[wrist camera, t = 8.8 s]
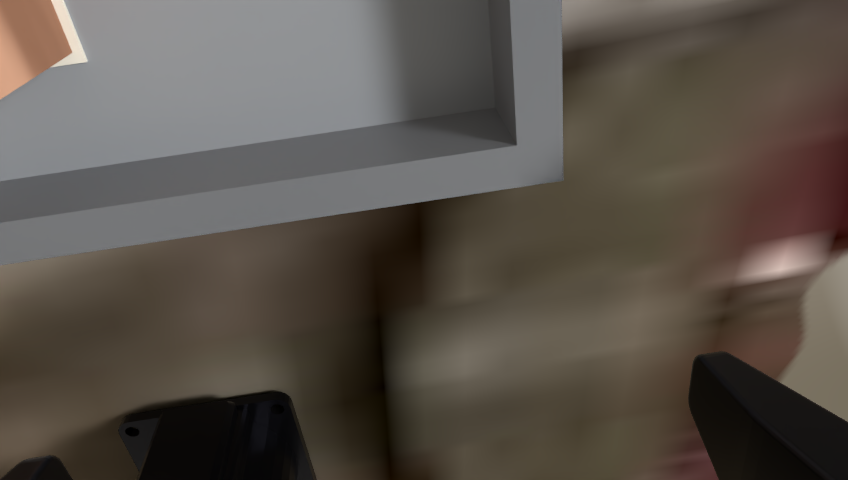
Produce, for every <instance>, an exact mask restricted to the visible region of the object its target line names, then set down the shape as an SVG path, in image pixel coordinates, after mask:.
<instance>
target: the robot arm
mask: <svg viewBox="0 0 848 480" xmlns="http://www.w3.org/2000/svg"><path fill="white" fill-rule="evenodd" d="M688 400H689V407H690V411H691V414H692V416H693V419H694V421H695V424H696V426H697V428H698V431H699V433H700V436H701V438H702V440H703V443H704V445H705V447H706V450H707V452H708V455H709V457H710V459H711V462H712V464H713V467H714V469H715V471H716V474H717V476H718V479H719V480H848V422H847V421H845V420H844V419H842V418H840V417H838V416H837V415H835V414H833V413H832V412H830V411H828V410H826V409H825V408H822V407H821V406H819V405H818V404H816V403H814V402H812V401H810V400H809V399H807V398H806V397H804V396H802V395H800V394H799V393H797V392H795V391H794V390H792V389H790V388H788V387H787V386H785V385H783V384H781V383H780V382H778V381H776V380H775V379H773V378H771V377H769V376H768V375H766V374H764V373H763V372H761V371H759V370H757V369H756V368H754V367H752V366H750V365H749V364H747V363H745V362H744V361H742V360H740V359H738V358H737V357H735V356H733V355H731V354H729V353H727V352H722V351H720V352H713V353H707V354H700V355H698V356H696V357H695V359H694V360H693V364H692V372H691V380H690V388H689V397H688ZM276 404H277V405H281V406H280V407H278V406H275V405H276ZM132 427H135V428H132ZM136 428H137V429H136ZM118 431H119V434H120V436H121V438H122V440H123V442H124V444H125V446H126V448H127V450H128V451H129V453H130V455H131V457H132V459H133V461H134V463H135V465H136V467H137V468H138V470H139V475H138V477H137V480H317V479H316V476H315V472H314V469H313V466H312V463H311V460H310V457H309V453H308V450H307V447H306V444H305V441H304V438H303V435H302V431H301V428H300V425H299V422H298V419H297V416H296V412H295V409H294V406H293V403H292V400H291V398H290V397H289V396H288V395H287V394H285V393H282V392H274V393H267V394H261V395H254V396H248V397H241V398H235V399H228V400H222V401H215V402H209V403H202V404H196V405H189V406H183V407H176V408H170V409H163V410H157V411H151V412H144V413H138V414H131V415H128V416H126V417H124V418H123V420H122V422H121V425H120V427H119V430H118ZM0 480H73V479H72V478H71V476H70V474H69V473H68V471H67V470H66V468H65V466H64V465H63V463H62V462H61V460H60V459H59V458H57V457H56V456H51V455H49V456H42V457H36V458H29V459H26V460H23V461H21V462H20V463H19V464H17V465H16V466H15V467H14V468H13V469H11V470H10V471H9V472H8V473H7V474H6V475H4V476H3V477H2V478H1V479H0Z"/></svg>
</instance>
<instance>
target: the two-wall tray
mask: <svg viewBox="0 0 848 480" xmlns="http://www.w3.org/2000/svg"><path fill="white" fill-rule="evenodd" d="M51 1H52V4H53V6H54V9H55V11H56V13H57V16H58V18H59V21H60V23H61V26H62V28H63V31H64V33H65V35H66V38H67V40H68V43H69V45H70V48H71V50H72V53H71V54H70V55H68V56H67V57H65V58H64V59H62V60H61V61H59V62H57V63H56V64H54V65H53V66H51V67H50V68H48V69H47V70H45V71H44V72H42V73H40V74H39V75H37V76H36V77H34V78H33V79H31V80H30V81H28V82H27V83H25V84H24V85H22V86H20V87H19V88H17V89H16V90H14V91H13V92H11V93H10V94H8V95H7V96H5V97H3V98H2V99H0V265H6V264H12V263H19V262H25V261H32V260H39V259H45V258H52V257H59V256H65V255H72V254H79V253H85V252H92V251H98V250H105V249H112V248H118V247H125V246H132V245H138V244H145V243H152V242H158V241H165V240H172V239H178V238H185V237H191V236H198V235H205V234H211V233H218V232H225V231H231V230H238V229H245V228H251V227H258V226H264V225H271V224H278V223H284V222H291V221H298V220H304V219H311V218H318V217H324V216H331V215H337V214H344V213H351V212H357V211H364V210H371V209H377V208H384V207H391V206H397V205H404V204H411V203H417V202H424V201H430V200H437V199H444V198H450V197H457V196H464V195H470V194H477V193H484V192H490V191H497V190H503V189H510V188H517V187H523V186H530V185H537V184H543V183H550V182H557V181H563V94H562V0H51Z"/></svg>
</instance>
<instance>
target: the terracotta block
mask: <svg viewBox="0 0 848 480" xmlns="http://www.w3.org/2000/svg"><path fill="white" fill-rule="evenodd" d="M71 53H72V50H71V48H70V45H69V43H68V40H67V38H66V35H65V33H64V31H63V28H62V26H61V23H60V21H59V18H58V16H57V13H56V11H55V9H54V6H53V4H52V1H51V0H0V99H2V98H3V97H5V96H7V95H8V94H10V93H11V92H13V91H14V90H16V89H17V88H19V87H20V86H22V85H24V84H25V83H27V82H28V81H30V80H31V79H33V78H34V77H36V76H37V75H39V74H40V73H42V72H44V71H45V70H47V69H48V68H50V67H51V66H53V65H54V64H56V63H57V62H59V61H61V60H62V59H64V58H65V57H67V56H68V55H70V54H71Z"/></svg>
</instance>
